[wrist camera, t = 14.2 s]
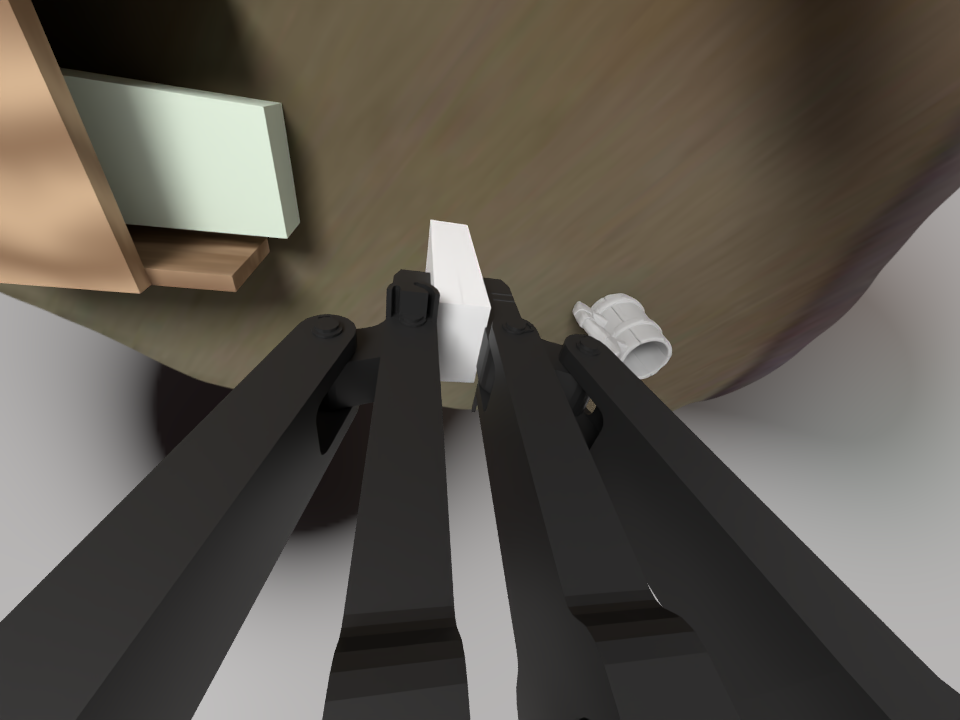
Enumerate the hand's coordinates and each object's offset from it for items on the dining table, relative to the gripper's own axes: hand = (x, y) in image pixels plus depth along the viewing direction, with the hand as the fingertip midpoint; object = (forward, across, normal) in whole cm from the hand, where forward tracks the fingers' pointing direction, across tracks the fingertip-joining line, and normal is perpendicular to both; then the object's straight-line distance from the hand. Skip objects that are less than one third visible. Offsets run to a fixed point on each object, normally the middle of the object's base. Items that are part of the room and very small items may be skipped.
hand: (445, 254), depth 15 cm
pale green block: (+25, -23, -4) cm, 34 cm away
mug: (+25, +24, -15) cm, 38 cm away
